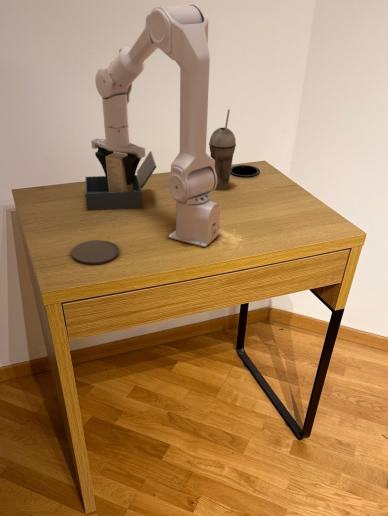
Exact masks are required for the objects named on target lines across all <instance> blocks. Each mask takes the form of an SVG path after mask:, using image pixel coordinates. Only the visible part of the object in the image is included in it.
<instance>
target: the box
mask: <svg viewBox="0 0 388 516" xmlns="http://www.w3.org/2000/svg"><path fill="white" fill-rule="evenodd" d="M126 156H127V154H123V153H118V152H114V153H112V154H110V155H107V156H105V158H106V168H107V177H108V187H109V192H131V191H133V183H132V184H131V185H127V181H126V170H125V166H124V163H123V160H122V158H124V157H126Z"/></svg>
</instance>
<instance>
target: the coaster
mask: <svg viewBox="0 0 388 516" xmlns="http://www.w3.org/2000/svg"><path fill="white" fill-rule="evenodd" d="M119 255H120V249H119V247H118V246H117V245H116V244H115V243H113V242H111V241H108V240H100V239H99V240H97V239H96V240H87V241H84V242H81V243H78V244H76V245H75V246H73V248H72V249H71V257H72V259H73V260H74V261H75V262H77V263H79V264H83V265H89V266H98V265H104V264H108V263H111V262H112V261H114V260H115V259H117V258H118V257H119Z"/></svg>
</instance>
